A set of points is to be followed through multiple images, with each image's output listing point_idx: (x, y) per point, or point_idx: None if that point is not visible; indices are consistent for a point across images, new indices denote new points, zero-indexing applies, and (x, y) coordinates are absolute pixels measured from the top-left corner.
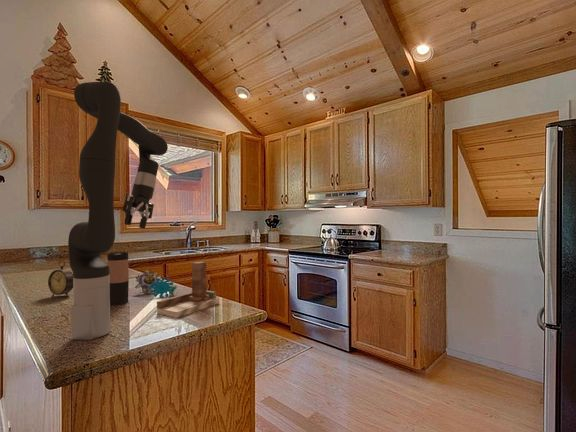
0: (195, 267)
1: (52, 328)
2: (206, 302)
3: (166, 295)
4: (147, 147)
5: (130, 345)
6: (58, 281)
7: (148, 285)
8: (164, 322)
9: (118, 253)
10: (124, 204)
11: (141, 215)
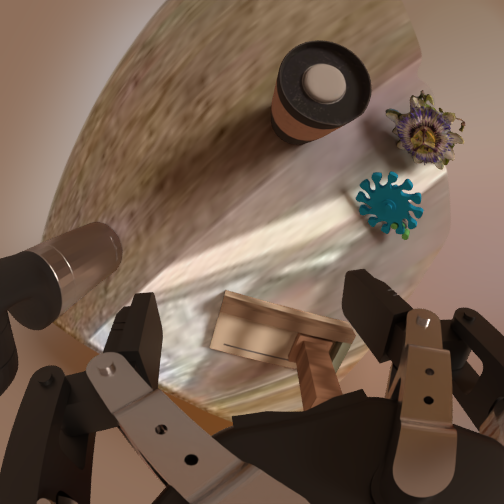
0: (308, 399)
1: (100, 146)
2: (291, 367)
3: (369, 223)
4: None
5: (95, 335)
6: None
7: (407, 142)
8: (183, 333)
9: (357, 61)
10: (17, 435)
11: (404, 342)
